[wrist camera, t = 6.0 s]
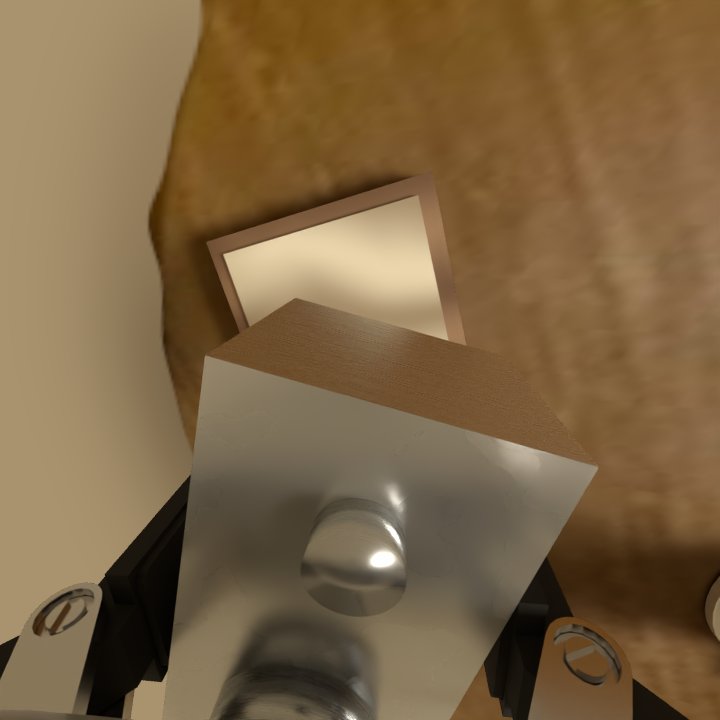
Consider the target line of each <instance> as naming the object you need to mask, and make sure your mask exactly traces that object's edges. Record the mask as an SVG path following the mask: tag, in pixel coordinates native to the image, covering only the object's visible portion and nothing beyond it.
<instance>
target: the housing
mask: <svg viewBox="0 0 720 720" xmlns="http://www.w3.org/2000/svg"><path fill="white" fill-rule="evenodd" d="M598 468H599V467H598V465H597V464H596V463H595V462H594V461H593V460H592V458H591V457H590V456H589V455H588V454H587V452H586V451H585V450H584V449H583V448H582V446H581V445H580V444H579V443H578V442H577V440H576V439H575V438H574V437H573V436H572V435H571V433H570V432H569V431H568V430H567V429H566V427H565V426H564V425H563V424H562V423H561V421H560V420H559V419H558V418H557V417H556V415H555V414H554V413H553V412H552V411H551V410H550V408H549V407H548V406H547V405H546V404H545V402H544V401H543V400H542V399H541V398H540V396H539V395H538V394H537V393H536V392H535V390H534V389H533V388H532V387H531V386H530V385H529V383H528V382H527V381H526V380H525V379H524V377H523V376H522V375H521V374H520V373H519V371H518V370H517V369H516V368H515V367H514V365H513V364H512V363H511V362H510V361H509V360H508V358H507V357H505V356H501V355H498V354H494V353H491V352H487V351H483V350H480V349H476V348H473V347H469V346H466V345H462V344H459V343H455V342H451V341H448V340H444V339H441V338H437V337H434V336H430V335H427V334H423V333H419V332H416V331H412V330H409V329H405V328H402V327H398V326H395V325H391V324H387V323H384V322H380V321H377V320H373V319H370V318H366V317H363V316H359V315H355V314H352V313H348V312H345V311H341V310H338V309H334V308H331V307H327V306H323V305H320V304H316V303H313V302H309V301H306V300H302V299H299V298H294V299H293V300H291V301H289V302H288V303H286V304H285V305H283V306H282V307H280V308H279V309H277V310H275V311H274V312H272V313H271V314H269V315H268V316H266V317H264V318H263V319H261V320H260V321H258V322H257V323H255V324H254V325H252V326H250V327H249V328H247V329H246V330H244V331H243V332H241V333H239V334H238V335H236V336H235V337H233V338H232V339H230V340H228V341H227V342H225V343H224V344H222V345H221V346H219V347H218V348H216V349H214V350H213V351H211V352H210V353H208V354H207V355H205V360H204V369H203V377H202V386H201V394H200V403H199V411H198V420H197V428H196V437H195V445H194V454H193V463H192V471H191V479H190V488H189V496H188V505H187V513H186V522H185V530H184V539H183V547H182V556H181V564H180V573H179V581H178V590H177V598H176V607H175V615H174V624H173V632H172V641H171V649H170V658H169V666H168V675H167V683H166V692H165V700H164V709H163V718H162V720H450V718H451V716H452V715H453V713H454V711H455V710H456V708H457V706H458V705H459V703H460V701H461V699H462V698H463V696H464V694H465V693H466V691H467V689H468V688H469V686H470V684H471V683H472V681H473V679H474V677H475V676H476V674H477V672H478V671H479V669H480V667H481V666H482V664H483V662H484V661H485V659H486V657H487V655H488V654H489V652H490V650H491V649H492V647H493V645H494V644H495V642H496V640H497V639H498V637H499V635H500V633H501V632H502V630H503V628H504V627H505V625H506V623H507V622H508V620H509V618H510V617H511V615H512V613H513V612H514V610H515V608H516V606H517V605H518V603H519V601H520V600H521V598H522V596H523V595H524V593H525V591H526V590H527V588H528V586H529V584H530V583H531V581H532V579H533V578H534V576H535V574H536V573H537V571H538V569H539V568H540V566H541V564H542V562H543V561H544V559H545V557H546V556H547V554H548V552H549V551H550V549H551V547H552V546H553V544H554V542H555V540H556V539H557V537H558V535H559V534H560V532H561V530H562V529H563V527H564V525H565V524H566V522H567V520H568V519H569V517H570V515H571V513H572V512H573V510H574V508H575V507H576V505H577V503H578V502H579V500H580V498H581V497H582V495H583V493H584V491H585V490H586V488H587V486H588V485H589V483H590V481H591V480H592V478H593V476H594V475H595V473H596V471H597V469H598Z"/></svg>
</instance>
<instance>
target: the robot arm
mask: <svg viewBox="0 0 720 720" xmlns="http://www.w3.org/2000/svg"><path fill="white" fill-rule="evenodd" d="M190 479H191V475H190V476H189V477H188V478H187V480H186V481H185V482H184V483H183V484H182V485H181V487H179V489H178V490H177V491H176V492H175V493H174V495H173V496H172V497H171V498H170V499H169V500H168V502H167V503H166V504H165V505H164V506H163V507H162V508H161V510H160V511H159V512H158V513H157V514H156V515H155V517H154V518H153V519H152V520H151V521H150V522H149V523H148V525H147V526H146V527H145V528H144V529H143V531H142V532H141V533H140V534H139V535H138V536H137V538H136V539H135V540H134V541H133V542H132V543H131V544H130V546H129V547H128V548H127V549H126V550H125V552H124V553H123V554H122V555H121V556H120V557H119V559H118V560H117V561H116V562H115V563H114V564H113V565H112V567H111V568H110V569H109V570H108V571H107V572H106V574H105V577H104V578H103V579H102V581H101V582H100V583H99V584H98V585H96V584H94V583H81V584H76V585H72V586H70V587H68V588H65V589H63V590H61V591H59V592H57V593H56V594H54V595H52V596H51V597H49V598H48V599H47V600H46V601H44V602H43V603H42V604H40V605H39V607H38V608H37V609H36V610H35V611H34V612H33V613H32V614H31V615H30V617H29V619H28V620H27V622H26V623H25V625H24V628H23V630H22V632H21V635H20V636H17V637H15V638H13V639H11V640H9V641H7V642H5V643H3V644H2V645H0V720H130V718H131V711H132V704H133V697H134V690H135V688H137V687H138V685H139V683H140V682H141V680H146V681H157V682H162V680H163V679H164V677H165V675H166V673H167V671H168V666H169V658H170V649H171V641H172V632H173V624H174V615H175V607H176V598H177V590H178V581H179V573H180V564H181V556H182V547H183V539H184V530H185V522H186V513H187V505H188V496H189V488H190ZM705 615H706V621H707V623H708V625H709V627H710V629H711V631H712V632H713V634H714V635H715V636H716V637H717V639H718V640H719V641H720V576H719V578H718V579H717V580H716V582H715V583H714V584H713V586H712V587H711V589H710V592H709V594H708V596H707V599H706V604H705ZM484 666H485V672H486V677H487V682H488V687H489V692H490V695H491V697H495V698H499V701H500V705H501V710H502V715H503V717H512V718H513V720H689V719H687V718H686V717H685V716H683V715H682V714H681V713H679V712H678V711H676V710H675V709H674V708H672V707H671V706H670V705H668V704H667V703H666V702H664V701H663V700H662V699H660V698H659V697H658V696H656V695H655V694H654V693H652V692H651V691H649V690H648V689H647V688H645V687H644V686H643V685H641V684H640V683H639V682H637V681H636V680H635V679H633V678H632V671H631V666H630V663H629V661H628V659H627V657H626V655H625V653H624V651H623V650H622V649H621V647H620V646H619V645H618V644H617V643H616V641H615V640H614V639H613V638H612V637H611V636H609V635H608V634H607V633H606V632H605V631H604V630H602V629H601V628H599V627H597V626H596V625H594V624H592V623H590V622H588V621H585V620H582V619H579V618H574V617H573V615H572V613H571V610H570V608H569V606H568V604H567V601H566V599H565V597H564V595H563V593H562V590H561V588H560V586H559V584H558V581H557V579H556V577H555V575H554V573H553V570H552V568H551V566H550V564H549V561H548V559H547V557H545V559H544V561H543V562H542V564H541V566H540V568H539V569H538V571H537V573H536V574H535V576H534V578H533V579H532V581H531V583H530V584H529V586H528V588H527V590H526V591H525V593H524V595H523V596H522V598H521V600H520V601H519V603H518V605H517V606H516V608H515V610H514V612H513V613H512V615H511V617H510V618H509V620H508V622H507V623H506V625H505V627H504V628H503V630H502V632H501V633H500V635H499V637H498V639H497V640H496V642H495V644H494V645H493V647H492V649H491V650H490V652H489V654H488V655H487V657H486V659H485V661H484Z"/></svg>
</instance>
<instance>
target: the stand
mask: <svg viewBox="0 0 720 720" xmlns="http://www.w3.org/2000/svg"><path fill="white" fill-rule="evenodd" d="M206 244H207V246H208V249H209V252H210V254H211V257H212V260H213V262H214V265H215V268H216V270H217V273H218V276H219V278H220V281H221V284H222V286H223V289H224V292H225V294H226V297H227V300H228V302H229V305H230V308H231V310H232V313H233V316H234V319H235V321H236V324H237V327H238V329H239V332H240V333H241V332H243V331H244V330H246V329H247V328H249V327H250V326H252V325H254V324H255V323H257V322H258V321H260V320H261V319H263V318H264V317H266V316H268V315H269V314H271V313H272V312H274V311H275V310H277V309H279V308H280V307H282V306H283V305H285V304H286V303H288V302H289V301H291V300H293V299H294V298H299V299H302V300H306V301H309V302H313V303H316V304H320V305H323V306H327V307H331V308H334V309H338V310H341V311H345V312H348V313H352V314H355V315H359V316H363V317H366V318H370V319H373V320H377V321H380V322H384V323H387V324H391V325H395V326H398V327H402V328H405V329H409V330H412V331H416V332H419V333H423V334H427V335H430V336H434V337H437V338H441V339H444V340H448V341H451V342H455V343H459V344H462V345H466V342H465V337H464V332H463V327H462V321H461V316H460V311H459V306H458V301H457V296H456V291H455V286H454V280H453V275H452V270H451V265H450V260H449V255H448V250H447V244H446V239H445V234H444V229H443V224H442V219H441V214H440V208H439V203H438V198H437V193H436V188H435V183H434V178H433V172H432V171H431V172H427V173H424V174H421V175H418V176H415V177H411V178H408V179H405V180H402V181H399V182H396V183H392V184H389V185H386V186H383V187H380V188H376V189H373V190H370V191H367V192H364V193H361V194H357V195H354V196H351V197H348V198H345V199H341V200H338V201H335V202H332V203H329V204H326V205H322V206H319V207H316V208H313V209H310V210H306V211H303V212H300V213H297V214H294V215H290V216H287V217H284V218H281V219H278V220H275V221H271V222H268V223H265V224H262V225H259V226H255V227H252V228H249V229H246V230H243V231H240V232H236V233H233V234H230V235H227V236H224V237H220V238H217V239H214V240H211V241H208V242H206Z"/></svg>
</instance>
